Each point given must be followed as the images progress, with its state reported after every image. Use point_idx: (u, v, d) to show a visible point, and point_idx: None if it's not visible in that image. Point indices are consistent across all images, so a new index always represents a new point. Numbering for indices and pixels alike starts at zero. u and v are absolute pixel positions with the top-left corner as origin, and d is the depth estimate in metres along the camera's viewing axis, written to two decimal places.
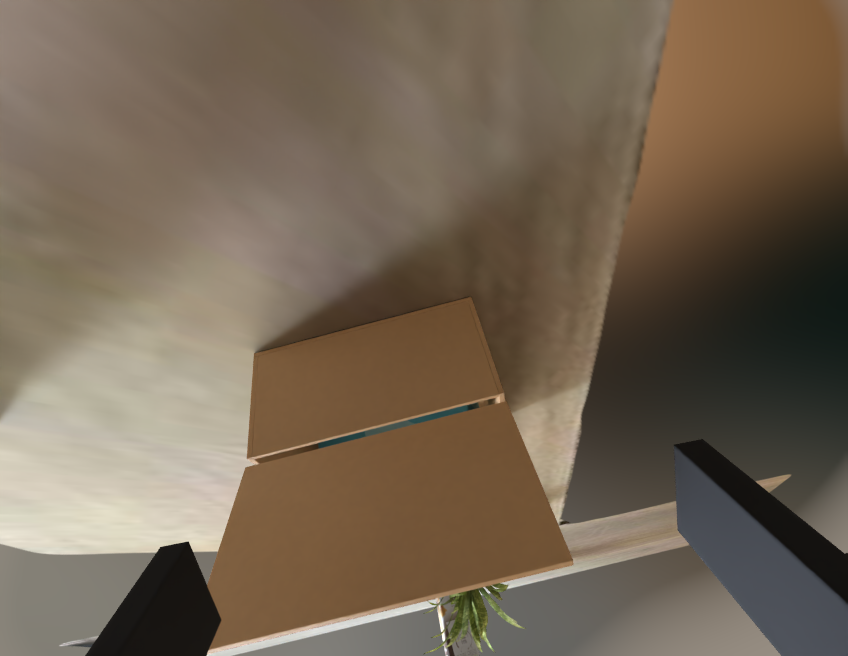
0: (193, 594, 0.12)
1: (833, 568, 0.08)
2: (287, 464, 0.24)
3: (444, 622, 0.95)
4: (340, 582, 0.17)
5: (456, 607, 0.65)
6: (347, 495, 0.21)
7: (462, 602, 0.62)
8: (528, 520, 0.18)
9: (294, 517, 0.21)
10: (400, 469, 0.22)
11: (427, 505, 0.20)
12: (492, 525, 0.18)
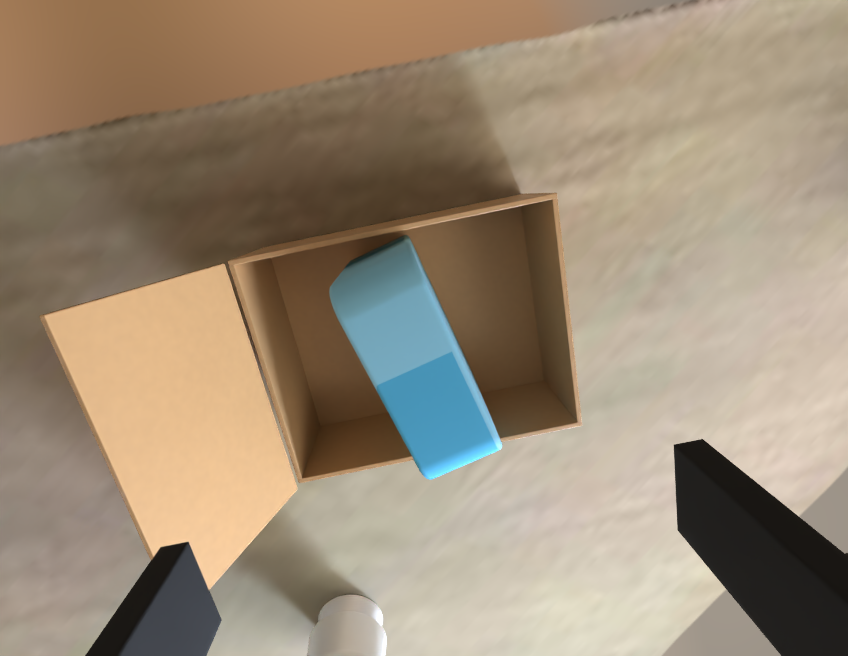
0: (193, 594, 0.12)
1: (833, 568, 0.08)
2: None
3: None
4: None
5: None
6: None
7: None
8: None
9: None
10: None
11: None
12: None
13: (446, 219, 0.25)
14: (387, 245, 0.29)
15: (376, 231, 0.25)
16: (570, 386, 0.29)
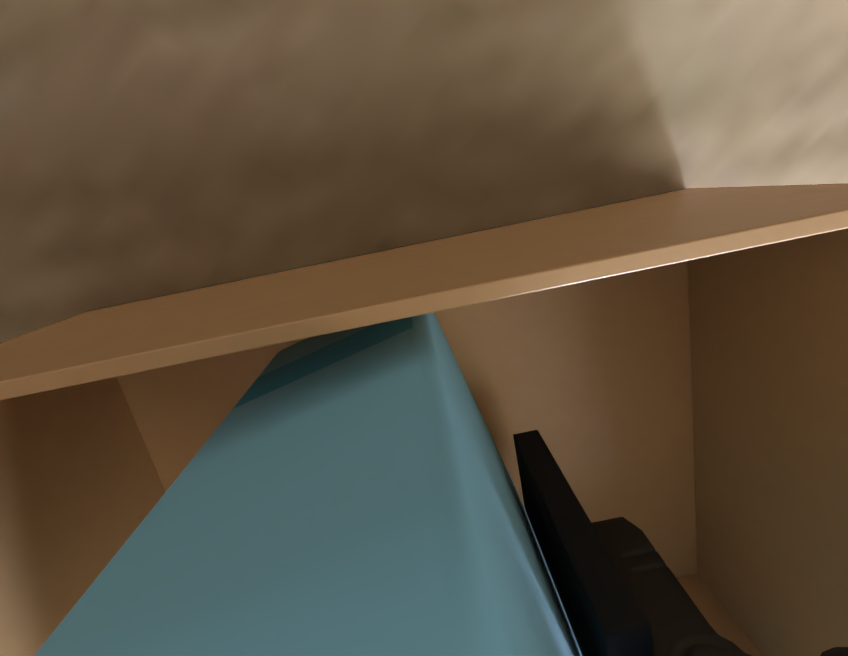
0: None
1: (574, 528, 0.10)
2: None
3: None
4: None
5: None
6: None
7: None
8: None
9: None
10: None
11: None
12: None
13: (572, 278, 0.07)
14: (366, 328, 0.10)
15: (311, 323, 0.07)
16: None
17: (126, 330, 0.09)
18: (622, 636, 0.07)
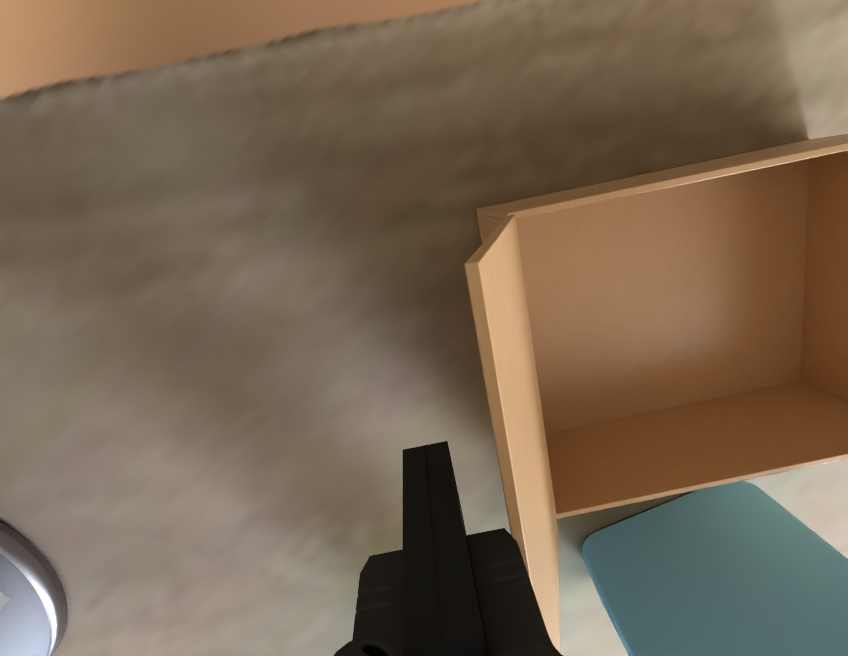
0: None
1: (447, 540, 0.10)
2: None
3: None
4: None
5: None
6: None
7: None
8: None
9: None
10: None
11: None
12: None
13: (818, 154, 0.18)
14: (601, 596, 0.28)
15: (719, 171, 0.18)
16: None
17: (591, 191, 0.20)
18: (457, 646, 0.08)
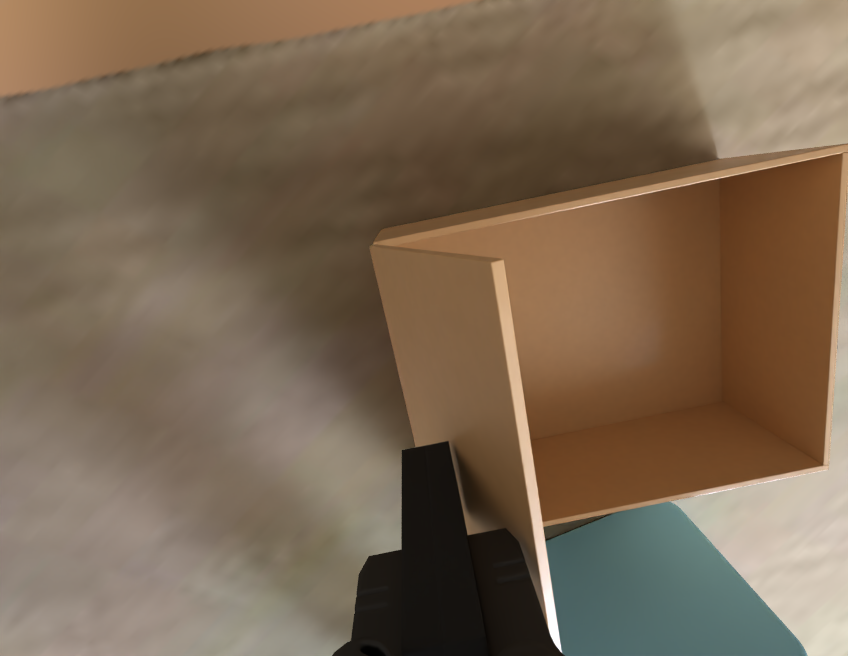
0: None
1: (448, 540, 0.10)
2: None
3: None
4: None
5: None
6: None
7: None
8: (455, 299, 0.10)
9: None
10: (428, 418, 0.16)
11: (452, 418, 0.13)
12: (462, 354, 0.11)
13: (689, 182, 0.17)
14: None
15: (588, 199, 0.17)
16: (815, 416, 0.21)
17: (473, 216, 0.20)
18: (459, 646, 0.08)
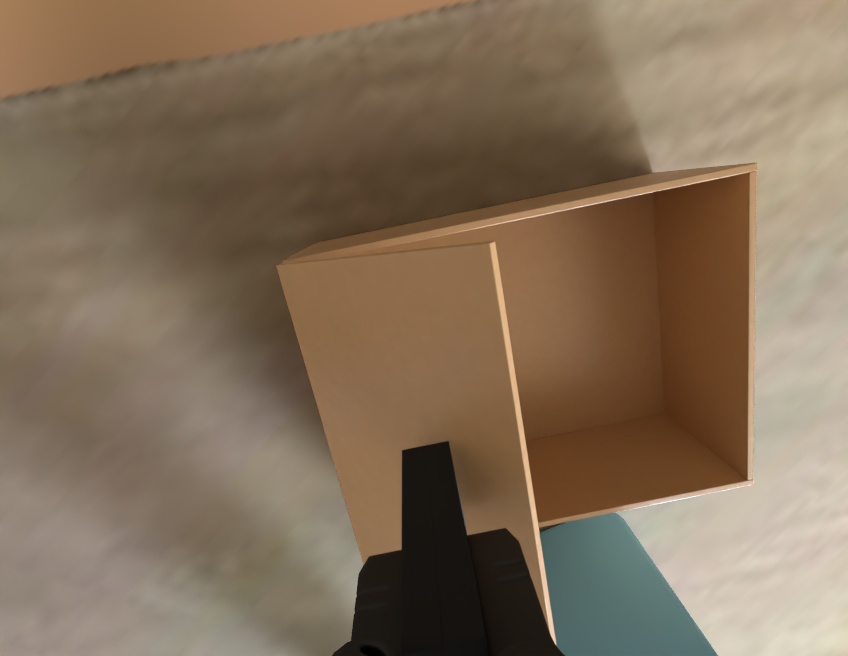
0: None
1: (448, 540, 0.10)
2: (362, 534, 0.20)
3: None
4: (496, 520, 0.14)
5: None
6: (398, 485, 0.17)
7: None
8: (434, 285, 0.12)
9: None
10: (367, 420, 0.17)
11: (411, 403, 0.15)
12: (438, 333, 0.13)
13: (596, 201, 0.17)
14: None
15: (496, 218, 0.17)
16: (738, 431, 0.21)
17: (391, 233, 0.20)
18: (459, 646, 0.08)
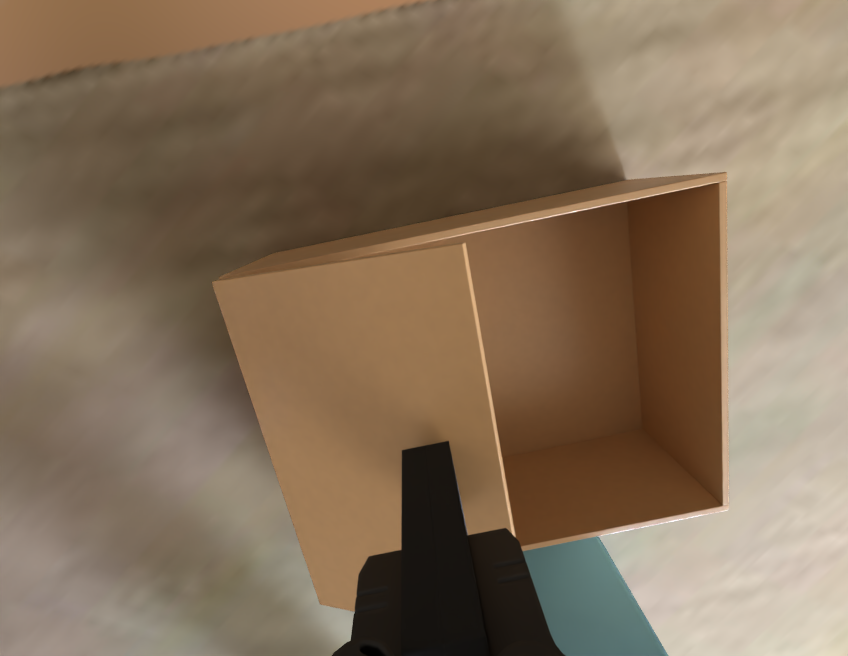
0: None
1: (449, 540, 0.10)
2: (316, 561, 0.19)
3: None
4: (470, 509, 0.15)
5: None
6: (360, 497, 0.17)
7: None
8: (404, 287, 0.13)
9: None
10: (324, 435, 0.16)
11: (377, 408, 0.15)
12: (408, 334, 0.13)
13: (555, 213, 0.16)
14: None
15: (448, 231, 0.16)
16: (713, 454, 0.20)
17: (342, 246, 0.18)
18: (459, 646, 0.08)
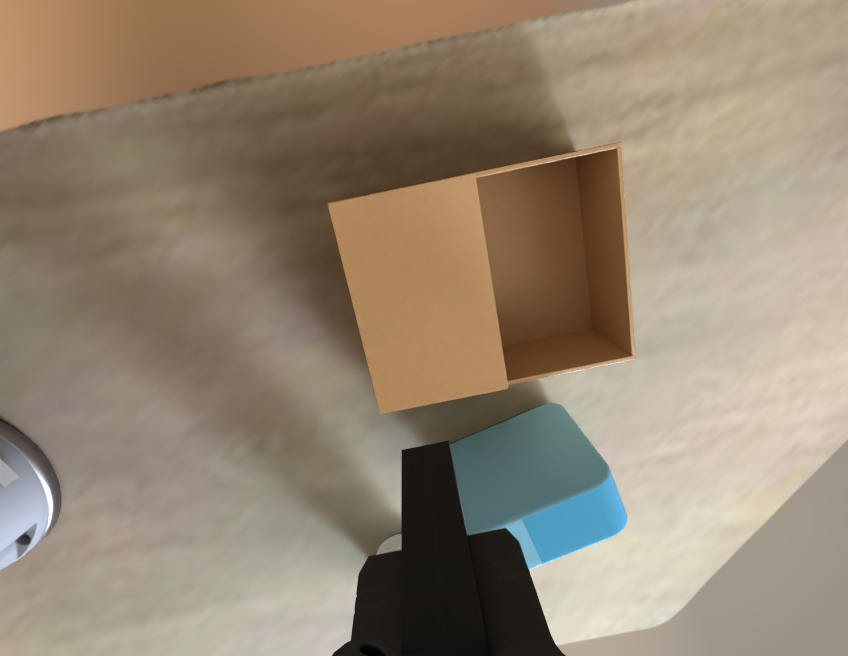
0: None
1: (449, 540, 0.10)
2: (380, 380, 0.31)
3: None
4: (476, 312, 0.30)
5: None
6: (414, 324, 0.30)
7: None
8: (446, 196, 0.28)
9: (429, 357, 0.31)
10: (394, 288, 0.29)
11: (428, 265, 0.29)
12: (447, 220, 0.28)
13: (522, 165, 0.28)
14: None
15: None
16: (625, 323, 0.32)
17: None
18: (459, 646, 0.08)
